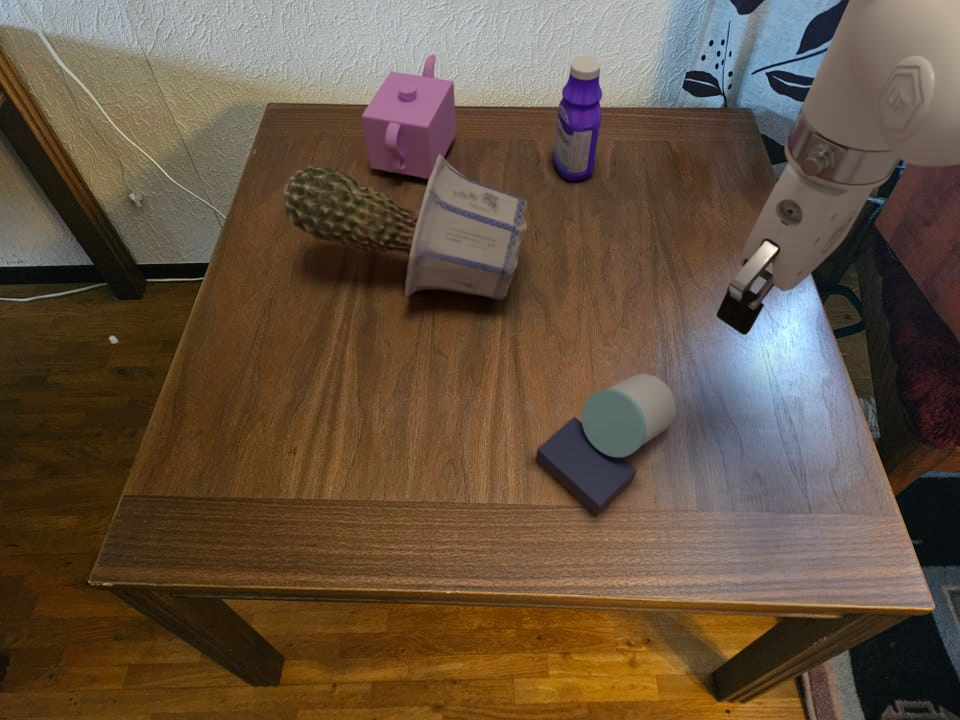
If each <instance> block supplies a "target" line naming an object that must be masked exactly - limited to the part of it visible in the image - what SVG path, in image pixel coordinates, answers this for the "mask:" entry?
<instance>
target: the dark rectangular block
mask: <svg viewBox="0 0 960 720" xmlns="http://www.w3.org/2000/svg"><path fill="white" fill-rule="evenodd" d="M535 457H536V458H535V462H536V463H537V464H538V465H539V466H540V467H541V468H543V470H545V471H546V472H547V473H548V474H549V475H550V476H551V477H552V478H553V479H555V480H556V482H557V483H559V484H560V485H561V486H562V487H563V488H564V489H565V490H566V491H567V492H568V493H570V494H571V496H573V497H574V498H575V499H576V500H577V501H578V502H579V503H580V504H581V505H582V506H583V507H585V508H586V510H587V511H589V512H590V513H591V514H592V515H593V516H594V517H595V518H597V517H598V516H599V515H600V514H601V513H602V512H603V511H604V510H605V509H606V508H607V507H608V506H609V505H610V504H611V503H612V502H613V501H614V500H615V499H616V498H617V497H618V496H619V495H620V494H622V492H623V491H625V489H627V488H628V486H630V485H631V483H633V480H634V479H635V476H636V474H637V471H638V470H637V468H636V467H634V466H633V465H632V464H631V463H630V462H628V461H627V460H626V459H625V457H611V456H608V455H606V454H604V453H602V452H600V451H599V450H598V449H596V448H595V447H594V446H593V445H592V444H591V442H590V441H589V440H588V438H587V436H586V434H585V432H584V429H583V426H582V421H580V419H578V418H577V417H576V416H573V417H572V418H571V419H570V420H568V421H567V423H566V424H564V425H563V426H562V427H561V428H559V429H558V431H556V432H555V433H554V434H552V436H551V437H549V438H548V439H547V440H546V441H545V442H544V443H542V444H541V445H540V446H539V447H538V448H537V449H536V456H535Z"/></svg>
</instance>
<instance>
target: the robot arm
mask: <svg viewBox="0 0 960 720" xmlns="http://www.w3.org/2000/svg"><path fill="white" fill-rule="evenodd" d="M839 20H840V21H839V23H838V25H837V27H836V29H835V31H834V33H833V37H832V38H831V40H830V43H829V45H828V47H827V50H826V52H825V54H824V56H823V59H822V61H821V63H820V65H819V68H818V70H817V71H816V73H815V76H814V79H813V81H812V83H811V85H810V87H809V90H808V91H807V94H806V97H805V98H804V101H803V104H802V106H801V108H800V110H799V112H798V115H797V117H796V119H795V121H794V123H793V126H792V128H791V130H790V132H789V135H788V136H787V138H786V140H785V144H784V148H783V149H784V155H785V158H786V160H787V164H786V166H785V167H784V169H783V170H782V173H781V174H780V176H779V177H778V180H777V182H776V183H775V184H774V186H773V189H772V190H771V192H770V194H769V196H768V198H767V200H766V201H765V203H764V205H763V207H762V209H761V211H760V213H759V215H758V217H757V219H756V221H755V222H754V225H753V227H752V228H751V231H750V233H749V235H748V236H747V239H746V242H745V244H744V247H743V249H742V252H741V254H740V264H741V266H742V267H741V268H740V269H739V271H737V273H736V274H735V275H734V276H733V278H732V279H731V280H730V282H729V284H728V286H727V288H726V290H725V291H726V292H725V295H724V297H723V299H722V301H721V303H720V305H719V308H718V310H717V312H716V317H717V318H718V319H719V320H720V321H722V322H723V323H725V324H726V325H728V326H729V327H731V328H732V329H733V330H735V331H737V332H738V333H739V334H741V335H742V336H746V335H747V334H748V333H749V332H751V330H752V328H753V327H754V325H755V323H756V321H757V319H758V317H759V316H760V314H761V312H762V310H763V309H764V307H765V304H763V301H764V300H765V298H766V297H767V296H768V294H769V293H770V291H771V290H772V289H773V287H775V288H777V289H778V290H780V291H781V292H787V291H791V290H793V289H794V288H796V287H797V286H798V285H799V284H801V283H802V282H803V281H804V280H805V279H806V278H808V277H809V276H810V274H811V273H812V272H813V271H815V270H816V269H817V268H818V267H819V266H820V265H821V264H822V263H823V262H824V261H825V260H826V259H827V258H829V256H830V255H831V254H832V253H833V252H834V251H836V249H837V248H838V247H839V246H840V245H841V244H842V243H843V242H844V240H845V239H846V237H847V236H848V234H849V233H850V230H851V229H852V227H853V226H854V223H855V222H856V220H857V218H858V216H859V214H860V213H861V211H862V209H863V208H864V206H865V204H866V203H867V201H868V199H869V197H870V196H871V193H872V192H873V189H877V188H879V187H880V186H882V185H884V184H885V183H886V182H887V181H888V180H889V179H890V177H891V176H892V174H893V172H894V171H895V170H896V168H897V167H898V165H899V163H900V162H901V161H902V162H905V163H907V164H911V165H913V166H917V167H924V168H925V167H926V168H940V167H950V166H957V165H960V0H848V2H847V4H846V7H845V9H844V12H843V13H842V16H841V18H840V19H839ZM770 264H772V266H771V267H772V268H771V269H772V271H771V272H770V271H768V270H766V269H767V268H768V267H769V265H770ZM759 277H760V278H762V279H763V280H765V282H764V283H763V285H762V286H761V287H760V289H759V290H758V292H757V293H755V292H754V291H752V290H751V289H752V286H753V284H754V283H755V282H756V280H757V279H758V278H759Z"/></svg>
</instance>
